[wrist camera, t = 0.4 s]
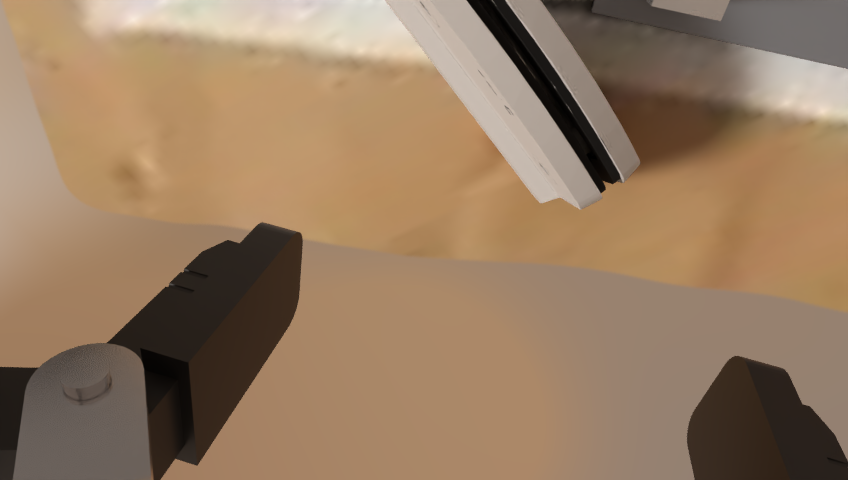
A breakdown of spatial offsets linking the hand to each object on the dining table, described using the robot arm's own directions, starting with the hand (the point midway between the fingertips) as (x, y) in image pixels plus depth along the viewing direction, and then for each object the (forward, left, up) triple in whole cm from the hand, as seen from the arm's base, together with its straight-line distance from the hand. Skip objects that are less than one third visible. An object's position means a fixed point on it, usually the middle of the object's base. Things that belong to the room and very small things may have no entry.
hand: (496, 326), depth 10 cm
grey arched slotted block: (+1, -2, -26) cm, 26 cm away
